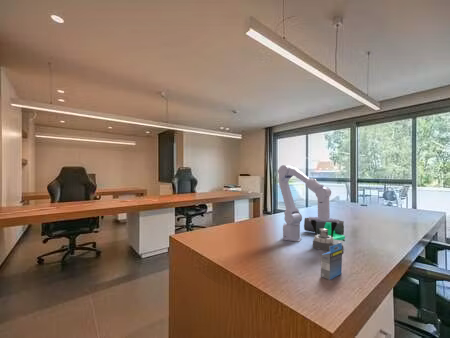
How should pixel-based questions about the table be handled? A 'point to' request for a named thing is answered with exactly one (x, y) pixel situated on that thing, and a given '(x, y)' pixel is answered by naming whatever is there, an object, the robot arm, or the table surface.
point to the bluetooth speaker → (308, 226)
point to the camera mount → (335, 236)
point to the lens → (323, 233)
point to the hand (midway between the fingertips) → (323, 235)
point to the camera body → (325, 243)
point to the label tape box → (332, 262)
